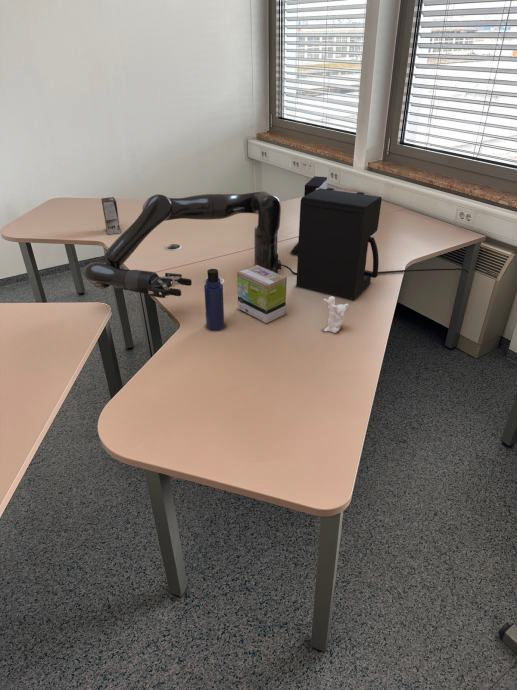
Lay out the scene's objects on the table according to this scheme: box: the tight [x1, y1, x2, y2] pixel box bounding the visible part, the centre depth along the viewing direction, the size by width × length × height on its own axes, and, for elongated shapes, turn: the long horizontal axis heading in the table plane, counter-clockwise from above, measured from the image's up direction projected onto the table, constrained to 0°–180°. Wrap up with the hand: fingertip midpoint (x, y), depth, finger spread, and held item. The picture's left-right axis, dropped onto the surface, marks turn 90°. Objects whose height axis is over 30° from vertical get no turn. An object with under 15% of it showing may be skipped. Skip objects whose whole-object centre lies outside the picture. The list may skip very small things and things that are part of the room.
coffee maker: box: [295, 187, 383, 301], centre depth 183 cm, size 28×20×35 cm
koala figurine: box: [323, 295, 350, 334], centre depth 159 cm, size 8×7×12 cm
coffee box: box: [100, 196, 122, 235], centre depth 244 cm, size 9×6×16 cm
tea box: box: [236, 265, 288, 324], centre depth 169 cm, size 15×10×15 cm
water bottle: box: [203, 268, 225, 332], centre depth 158 cm, size 6×6×20 cm
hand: (186, 287), depth 159 cm, fingers open, 8 cm apart
